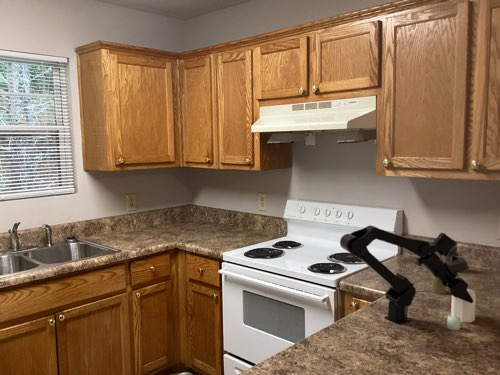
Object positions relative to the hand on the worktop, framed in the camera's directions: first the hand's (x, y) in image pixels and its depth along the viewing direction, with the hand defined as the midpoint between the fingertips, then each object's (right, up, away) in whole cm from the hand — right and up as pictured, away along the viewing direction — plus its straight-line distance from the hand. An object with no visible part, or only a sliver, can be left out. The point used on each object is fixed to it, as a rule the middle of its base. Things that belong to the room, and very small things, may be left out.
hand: (467, 297), depth 157 cm
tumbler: (-1, -8, +1) cm, 8 cm away
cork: (+2, -5, +29) cm, 29 cm away
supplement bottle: (+21, -2, +60) cm, 64 cm away
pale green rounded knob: (-8, -8, -7) cm, 14 cm away
